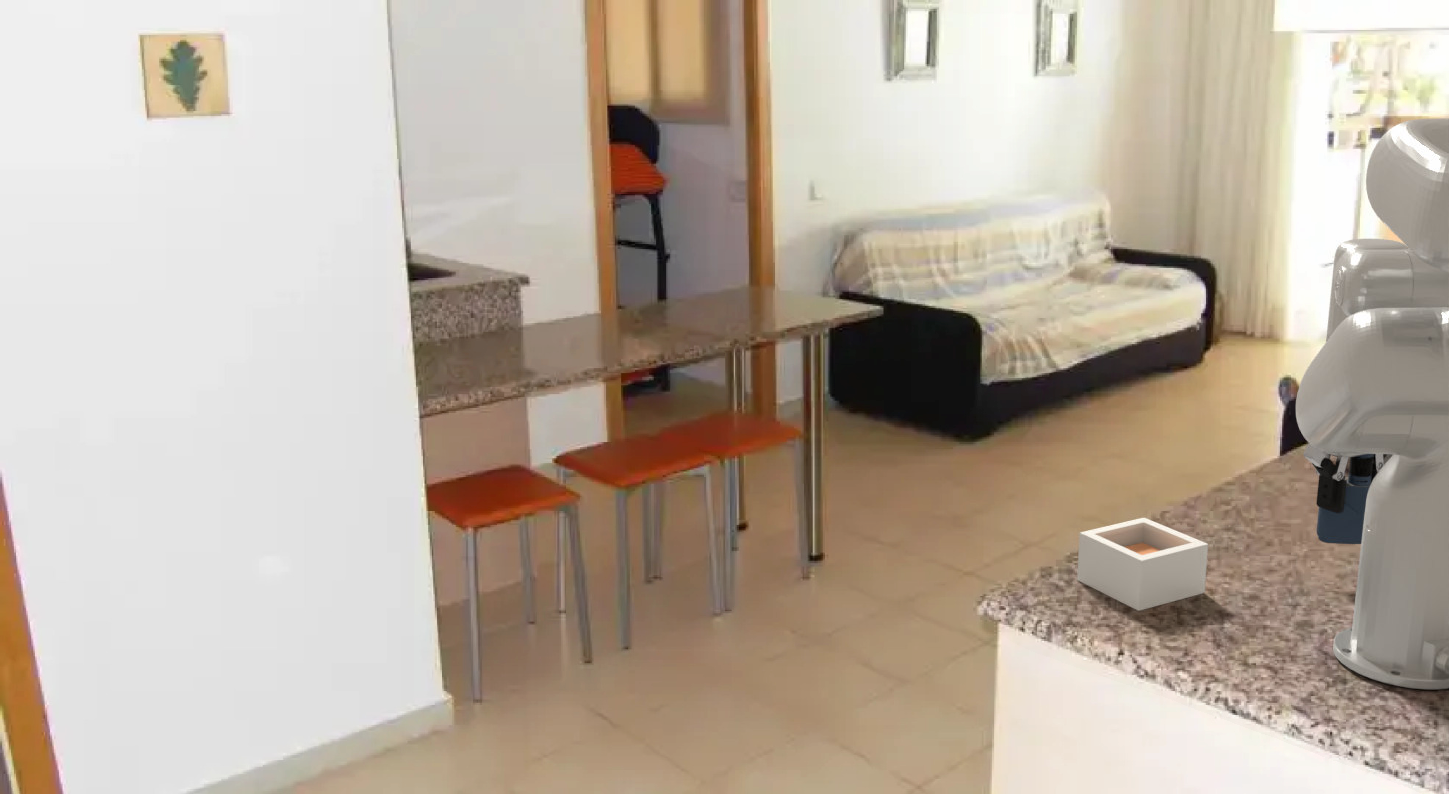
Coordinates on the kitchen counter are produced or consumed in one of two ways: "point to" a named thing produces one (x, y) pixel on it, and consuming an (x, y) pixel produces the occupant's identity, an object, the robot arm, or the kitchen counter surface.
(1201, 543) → the white hollow square box
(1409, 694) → the kitchen counter surface
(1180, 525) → the kitchen counter surface
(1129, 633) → the kitchen counter surface
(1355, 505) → the vaping device
